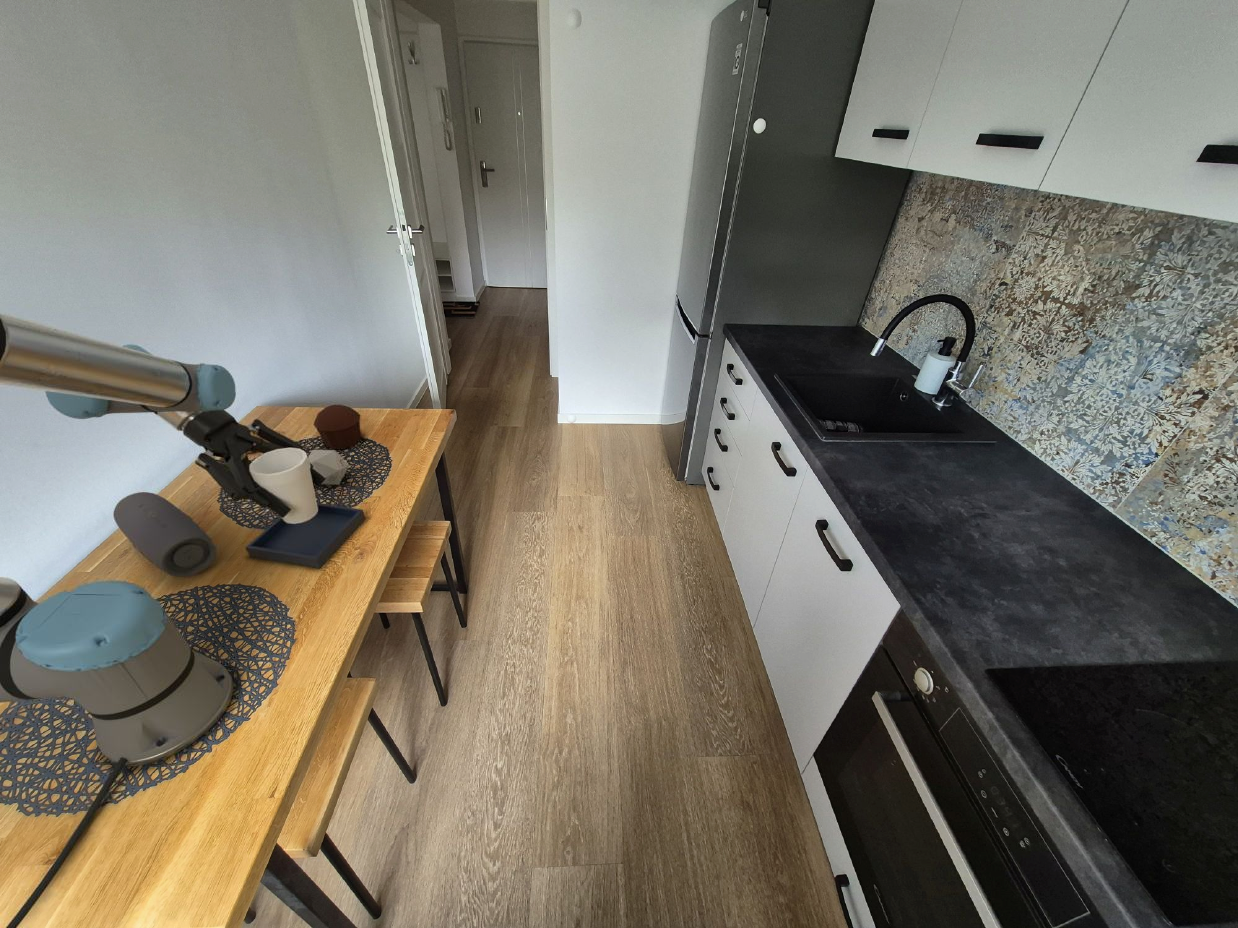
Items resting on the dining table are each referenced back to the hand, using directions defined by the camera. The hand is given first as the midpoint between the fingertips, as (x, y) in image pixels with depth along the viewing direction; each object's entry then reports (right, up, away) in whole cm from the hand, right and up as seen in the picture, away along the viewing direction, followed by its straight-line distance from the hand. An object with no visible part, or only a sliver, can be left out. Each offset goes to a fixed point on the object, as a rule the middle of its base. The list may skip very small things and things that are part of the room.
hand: (305, 497), depth 98 cm
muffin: (-13, +13, +38) cm, 42 cm away
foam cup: (-3, -4, +3) cm, 6 cm away
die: (-8, +2, +23) cm, 24 cm away
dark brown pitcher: (-27, +1, +20) cm, 34 cm away
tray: (-3, -9, +7) cm, 11 cm away
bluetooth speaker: (-27, -11, +2) cm, 29 cm away
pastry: (-34, +11, +33) cm, 49 cm away
